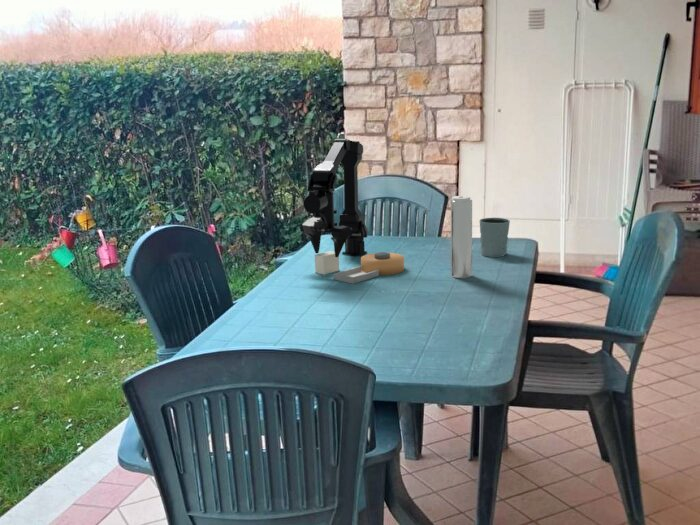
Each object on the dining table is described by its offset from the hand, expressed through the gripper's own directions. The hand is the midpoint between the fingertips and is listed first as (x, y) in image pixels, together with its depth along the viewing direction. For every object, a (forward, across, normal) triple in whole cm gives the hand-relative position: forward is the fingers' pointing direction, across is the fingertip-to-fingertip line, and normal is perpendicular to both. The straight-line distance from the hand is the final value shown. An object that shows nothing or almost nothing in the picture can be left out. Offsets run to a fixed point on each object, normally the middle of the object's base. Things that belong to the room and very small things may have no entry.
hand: (326, 255), depth 262 cm
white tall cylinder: (+6, +38, +21) cm, 44 cm away
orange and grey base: (+5, +13, +7) cm, 16 cm away
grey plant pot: (+6, +30, +51) cm, 60 cm away
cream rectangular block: (+6, 0, 0) cm, 6 cm away
